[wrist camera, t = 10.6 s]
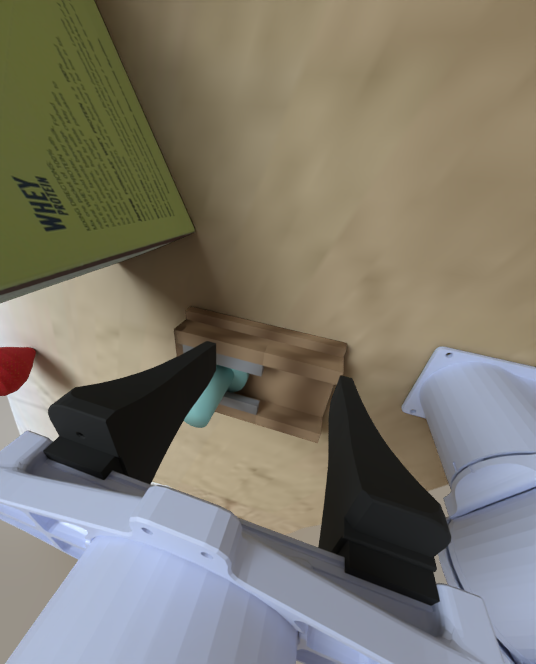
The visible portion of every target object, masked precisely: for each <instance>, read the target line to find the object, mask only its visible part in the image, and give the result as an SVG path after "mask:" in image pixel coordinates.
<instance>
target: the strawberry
mask: <svg viewBox="0 0 536 664" xmlns="http://www.w3.org/2000/svg"><path fill="white" fill-rule="evenodd" d="M35 355H36V351H35V350H34V349H32V348H29V347H0V396H6V395H8V394H10V393H13V392H15V391H17V390H18V389H19V388H20V387H21V386H22V385H23V384H24V383H25V382H26V381H27V379H28V377H29V374H30V372H31V369H32V367H33V361H34V358H35Z"/></svg>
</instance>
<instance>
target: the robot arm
mask: <svg viewBox="0 0 536 664" xmlns="http://www.w3.org/2000/svg"><path fill="white" fill-rule="evenodd" d="M447 353H451V354H450V355H446V354H447ZM215 372H216V343H213V342H209V341H206V342H204V343H202V344H200V345H198V346H196V347H194V348H193V349H191V350H189V351H187V352H185V353H183V354H181V355H180V356H178V357H176V358H173V359H171V360H169V361H167V362H165V363H163V364H161V365H158V366H156V367H154V368H151V369H148V370H146V371H143V372H140V373H137V374H134V375H130V376H127V377H124V378H120V379H116V380H112V381H108V382H103V383H99V384H93V385H87V386H81V387H75V388H73V389H72V390H71V391H69V392H68V393H67V394H65V395H64V396H63V397H61V398H60V399H59V400H58V401H56V402H55V403H54V404H52V405H51V406H50V407H49V409H48V415H49V418H50V420H51V422H52V424H53V425H54V427H55V429H56V431H57V432H58V434H59V437H58V438H57V439H56V440H55V441H54V442H53V441H52V440H50V439H49V438H47V437H45V436H42V435H39V434H37V433H34V432H31V431H26V432H24V433H23V434H22V435H20V436H19V437H18V438H16V439H15V440H14V441H13V442H11V443H10V444H9V445H7V446H6V447H5V448H4V449H2V450H1V451H0V520H2V521H5V522H7V523H9V524H11V525H13V526H15V527H17V528H19V529H21V530H23V531H25V532H27V533H29V534H31V535H33V536H35V537H36V538H38V539H40V540H42V541H44V542H46V543H48V544H50V545H52V546H54V547H56V548H57V549H59V550H61V551H63V552H65V553H67V554H68V555H71V556H72V557H74V558H76V559H78V561H77V563H76V565H75V566H74V567H73V569H72V570H71V571H70V573H69V574H68V576H67V577H66V579H65V580H64V581H63V583H62V584H61V586H60V587H59V588H58V590H57V591H56V593H55V594H54V595H53V597H52V598H51V600H50V601H49V602H48V604H47V605H46V607H45V608H44V609H43V611H42V612H41V614H40V615H39V616H38V618H37V619H36V621H35V622H34V624H33V625H32V626H31V628H30V629H29V631H28V632H27V633H26V635H25V636H24V638H23V639H22V640H21V642H20V643H19V645H18V646H17V648H16V649H15V650H14V652H13V653H12V655H11V656H10V657H9V659H8V660H7V662H6V663H5V664H296V661H298V662H301V663H303V664H536V367H533V366H528V365H524V364H519V363H515V362H510V361H506V360H502V359H497V358H493V357H488V356H484V355H479V354H475V353H470V352H466V351H461V350H457V349H452V348H448V347H442V346H441V347H438V348H436V349H435V351H434V352H433V354H432V356H431V358H430V359H429V361H428V363H427V364H426V366H425V368H424V369H423V371H422V373H421V374H420V376H419V378H418V379H417V381H416V383H415V384H414V386H413V388H412V390H411V391H410V393H409V395H408V396H407V398H406V400H405V401H404V403H403V405H402V407H401V408H402V411H403V412H405V413H408V414H411V415H415V416H419V417H422V418H426V420H427V423H428V425H429V428H430V431H431V434H432V437H433V440H434V443H435V446H436V448H437V451H438V454H439V457H440V460H441V463H442V466H443V469H444V471H445V474H446V477H447V480H448V483H449V486H450V488H451V492H450V494H448V495H447V496H445V497H444V498H443V499H444V502H445V505H446V509H447V512H448V515H449V517H446V518H445V515H444V513H443V510H442V508H441V505H440V504H439V503H438V502H437V501H436V500H435V499H434V498H433V497H432V496H431V495H430V494H429V493H428V492H427V491H426V490H425V489H424V488H423V487H422V486H421V485H420V484H419V483H418V481H417V480H416V479H415V478H414V477H413V476H412V475H411V474H410V473H409V471H408V470H407V469H406V468H405V467H404V466H403V464H402V463H401V462H400V461H399V460H398V458H397V457H396V456H395V454H394V453H393V452H392V451H391V449H390V448H389V447H388V445H387V444H386V442H385V441H384V439H383V438H382V437H381V435H380V433H379V432H378V430H377V429H376V427H375V425H374V423H373V422H372V420H371V418H370V416H369V414H368V413H367V411H366V409H365V407H364V405H363V403H362V400H361V398H360V396H359V394H358V391H357V389H356V386H355V384H354V381H353V379H352V378H349V377H345V376H342V375H340V377H339V380H338V383H337V386H336V388H335V391H334V394H333V397H332V399H331V403H330V411H329V458H328V472H327V482H326V492H325V500H324V509H323V517H322V525H321V533H320V540H319V547H315V546H312V545H310V544H307V543H304V542H302V541H299V540H296V539H294V538H291V537H288V536H286V535H283V534H280V533H278V532H275V531H272V530H270V529H267V528H264V527H262V526H259V525H256V524H254V523H251V522H248V521H246V520H243V519H240V518H238V517H237V516H235V515H234V514H233V513H232V512H231V511H229V510H227V509H225V508H223V507H221V506H219V505H216V504H213V503H211V502H208V501H205V500H203V499H200V498H197V497H194V496H192V495H189V494H186V493H184V492H181V491H178V490H176V489H173V488H170V487H167V486H162V485H156V486H152V485H150V484H151V482H152V480H153V478H154V476H155V474H156V472H157V470H158V468H159V466H160V464H161V462H162V460H163V458H164V456H165V454H166V452H167V450H168V448H169V446H170V444H171V442H172V440H173V439H174V437H175V435H176V433H177V431H178V430H179V428H180V426H181V424H182V422H183V421H184V419H185V418H186V416H187V414H188V413H189V412H190V410H191V409H192V407H193V406H194V405H195V403H196V402H197V400H198V399H199V398H200V396H201V395H202V393H203V392H204V390H205V389H206V388H207V386H208V385H209V383H210V381H211V379H212V377H213V376H214V374H215ZM412 409H413V410H412ZM437 554H438V556H439V560H440V564H441V567H442V570H443V573H444V576H445V578H446V581H447V583H448V585H447V584H442V583H438V584H436V582H435V577H434V574H433V572H435V571H436V570H437V567H436V563H435V559H434V556H436V555H437Z"/></svg>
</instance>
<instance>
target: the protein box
mask: <svg viewBox="0 0 536 664" xmlns="http://www.w3.org/2000/svg"><path fill="white" fill-rule="evenodd" d="M194 232H195V229H194V227H193V225H192V222H191V220H190V218H189V215H188V213H187V211H186V209H185V206H184V204H183V202H182V199H181V197H180V195H179V193H178V191H177V188H176V186H175V184H174V181H173V179H172V177H171V175H170V172H169V170H168V168H167V165H166V163H165V161H164V158H163V156H162V154H161V152H160V149H159V147H158V145H157V143H156V140H155V138H154V136H153V134H152V131H151V129H150V127H149V124H148V122H147V120H146V118H145V115H144V113H143V111H142V108H141V106H140V104H139V102H138V99H137V97H136V95H135V92H134V90H133V88H132V86H131V83H130V81H129V79H128V76H127V74H126V72H125V70H124V67H123V65H122V63H121V61H120V58H119V56H118V54H117V51H116V49H115V47H114V44H113V42H112V40H111V38H110V35H109V33H108V31H107V29H106V26H105V24H104V22H103V19H102V17H101V15H100V13H99V10H98V8H97V6H96V4H95V1H94V0H0V303H2V302H5V301H8V300H11V299H14V298H17V297H20V296H23V295H26V294H28V293H31V292H34V291H37V290H40V289H43V288H46V287H49V286H52V285H54V284H57V283H60V282H63V281H66V280H69V279H72V278H75V277H78V276H81V275H84V274H86V273H89V272H92V271H95V270H98V269H101V268H104V267H107V266H110V265H113V264H116V263H119V262H121V261H124V260H127V259H129V258H132V257H135V256H138V255H140V254H143V253H145V252H148V251H151V250H153V249H156V248H158V247H161V246H163V245H166V244H168V243H171V242H173V241H175V240H178V239H180V238H183V237H185V236H187V235H190V234H192V233H194Z"/></svg>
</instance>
